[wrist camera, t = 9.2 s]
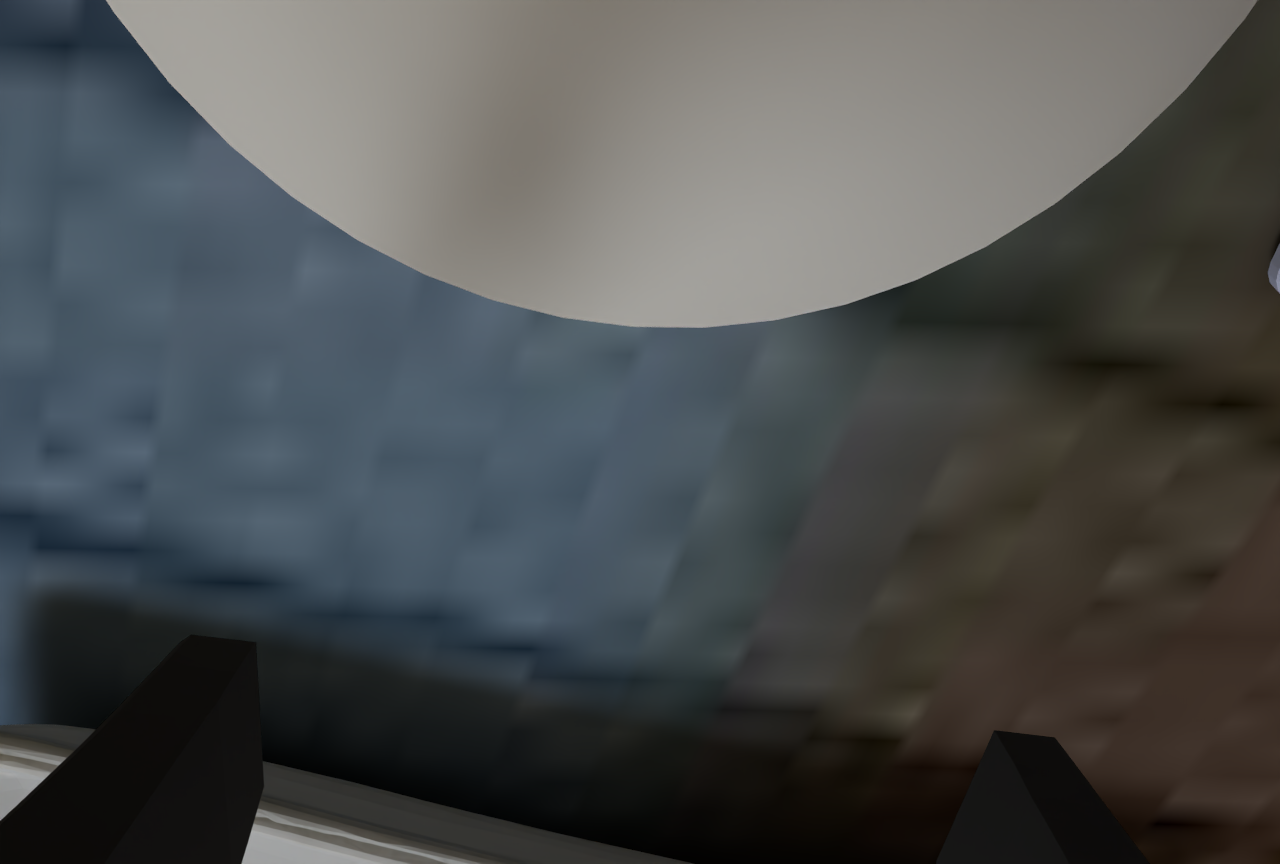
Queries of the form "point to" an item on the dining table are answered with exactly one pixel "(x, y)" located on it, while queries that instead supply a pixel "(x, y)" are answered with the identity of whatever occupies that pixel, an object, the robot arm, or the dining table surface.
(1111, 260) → the dining table surface
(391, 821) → the square plate
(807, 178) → the lid
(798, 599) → the dining table surface
